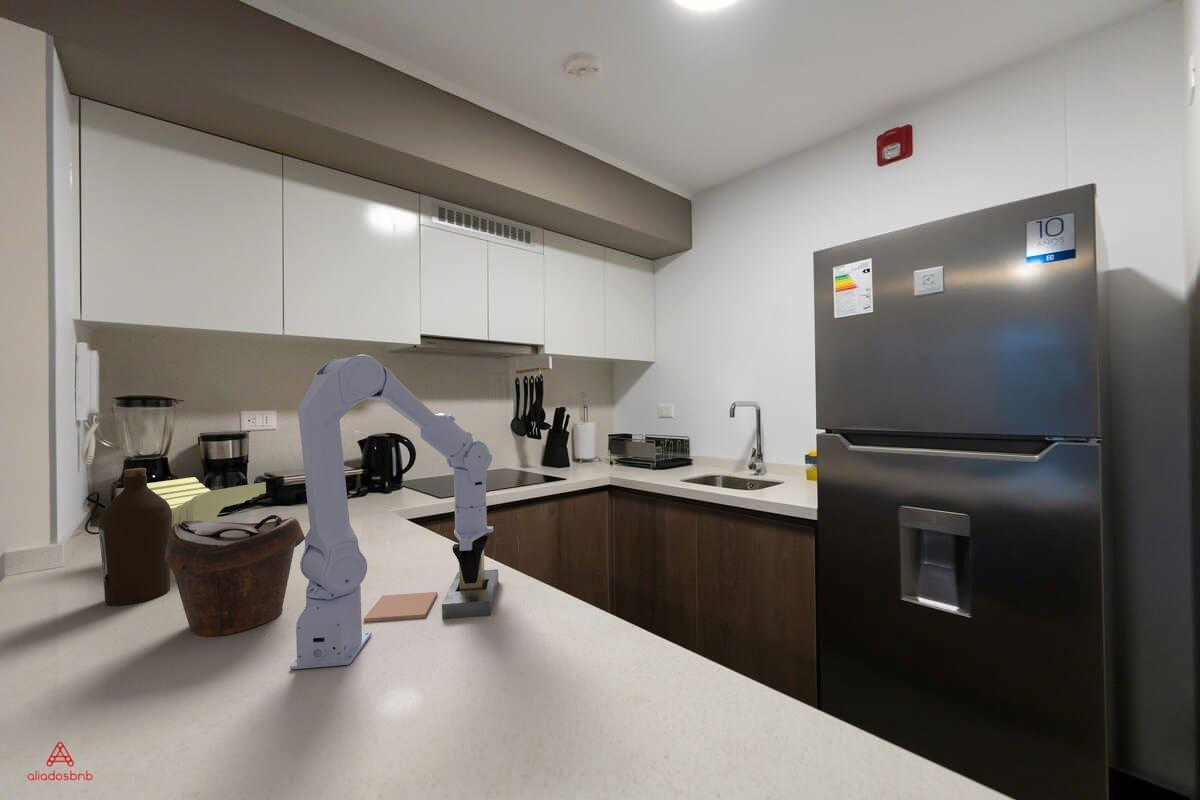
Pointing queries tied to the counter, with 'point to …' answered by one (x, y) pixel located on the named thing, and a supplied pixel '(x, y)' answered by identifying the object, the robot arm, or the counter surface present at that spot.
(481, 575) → the brass bar
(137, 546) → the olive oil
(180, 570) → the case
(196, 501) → the slatted curved stool
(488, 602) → the grey slotted block
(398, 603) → the terracotta tile
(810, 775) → the counter surface
